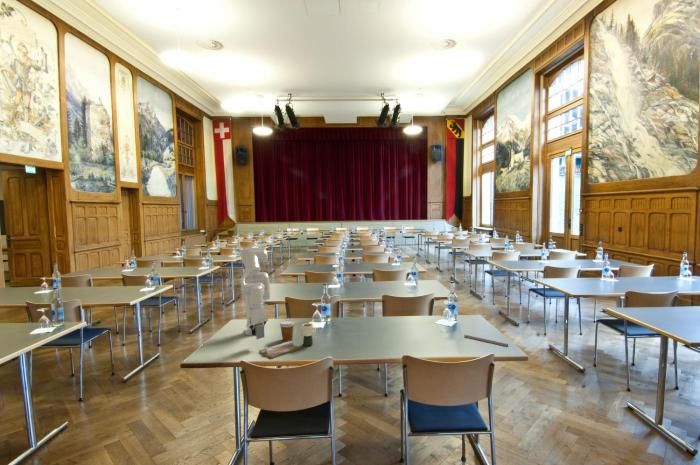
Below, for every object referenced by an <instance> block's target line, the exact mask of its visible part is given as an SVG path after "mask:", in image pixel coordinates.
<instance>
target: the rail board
mask: <svg viewBox="0 0 700 465" xmlns="http://www.w3.org/2000/svg"><path fill="white" fill-rule="evenodd" d="M298 350H300V346H298V345H295V344H294V341H292V340H291V341H283V342H281V343H278V344H275V345H272V346H268V347H265V348H263V349H259V350H258V352H259V354H262V355H263V356H265V357H267V358H270V359H271V360H272V359H276V358H278V357H280V356H284V355H287V354H290V353H293V352H296V351H298Z"/></svg>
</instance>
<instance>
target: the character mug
mask: <svg viewBox="0 0 700 465" xmlns="http://www.w3.org/2000/svg"><path fill="white" fill-rule="evenodd" d="M298 330H299V333H301V335H302V336H303V341H302V342H303V343H302V344H303V345H304V346H306V347H307V346H312V345H313V344H314V341H313V335H314V334H315V333H317V328H316V327H314V324H313V323H310V322H305V323H303V324H301V326H300V327H299V328H298Z"/></svg>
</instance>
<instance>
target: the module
mask: <svg viewBox="0 0 700 465" xmlns="http://www.w3.org/2000/svg"><path fill="white" fill-rule="evenodd" d="M250 336H251V338H252V337H255V338H256V340H260V339H263V338H265V326H264V325H263V324H261V323H260V324H256V325H255V336H254V335H252V330H251V335H250Z"/></svg>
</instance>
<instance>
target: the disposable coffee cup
mask: <svg viewBox="0 0 700 465" xmlns="http://www.w3.org/2000/svg"><path fill="white" fill-rule="evenodd" d="M294 325H295V322H294V320H291V319H285V320H281V321H280V323H279V326H280V331H281V337H282V341H283V342H289V341H291V342H292V340H293V336H294Z"/></svg>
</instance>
